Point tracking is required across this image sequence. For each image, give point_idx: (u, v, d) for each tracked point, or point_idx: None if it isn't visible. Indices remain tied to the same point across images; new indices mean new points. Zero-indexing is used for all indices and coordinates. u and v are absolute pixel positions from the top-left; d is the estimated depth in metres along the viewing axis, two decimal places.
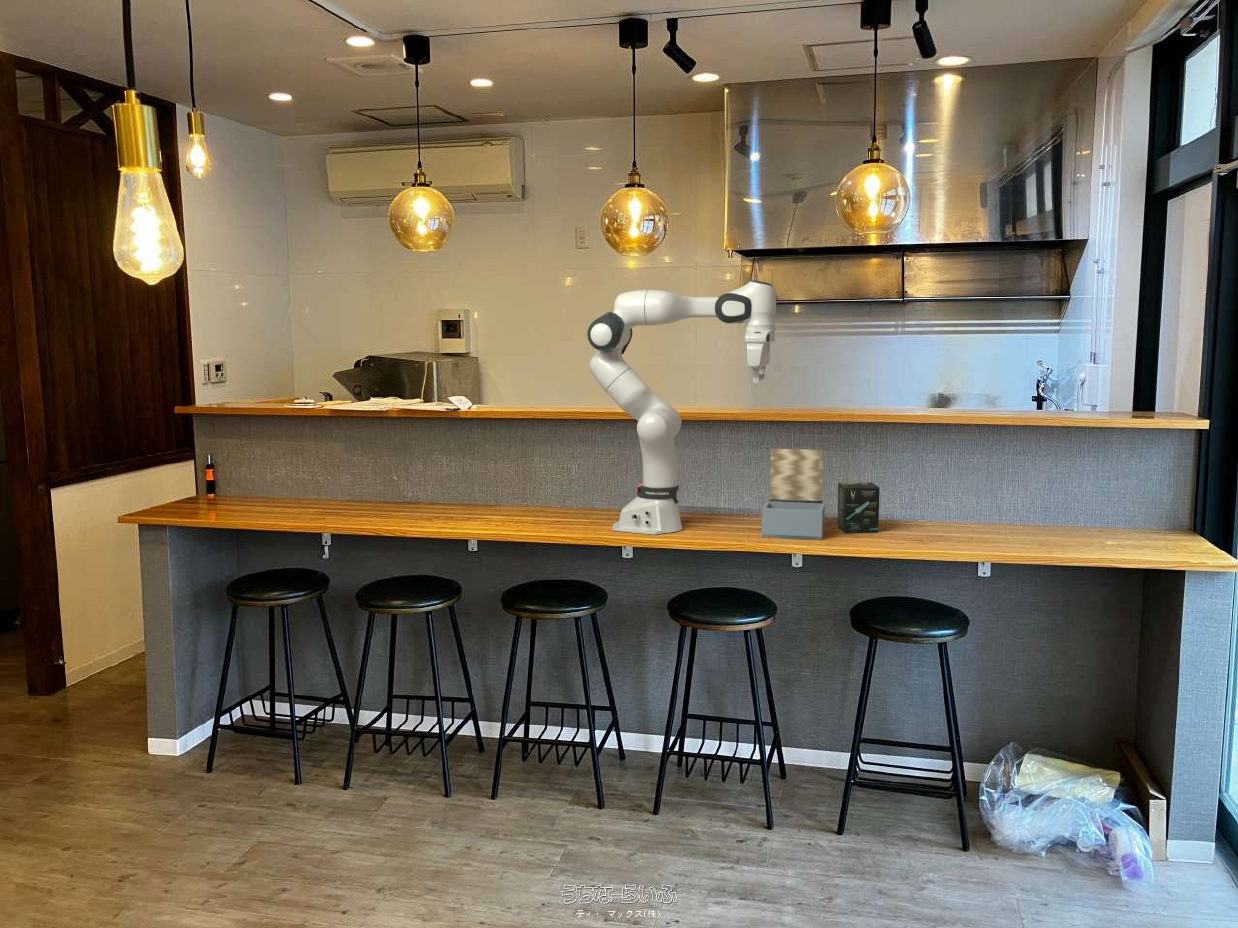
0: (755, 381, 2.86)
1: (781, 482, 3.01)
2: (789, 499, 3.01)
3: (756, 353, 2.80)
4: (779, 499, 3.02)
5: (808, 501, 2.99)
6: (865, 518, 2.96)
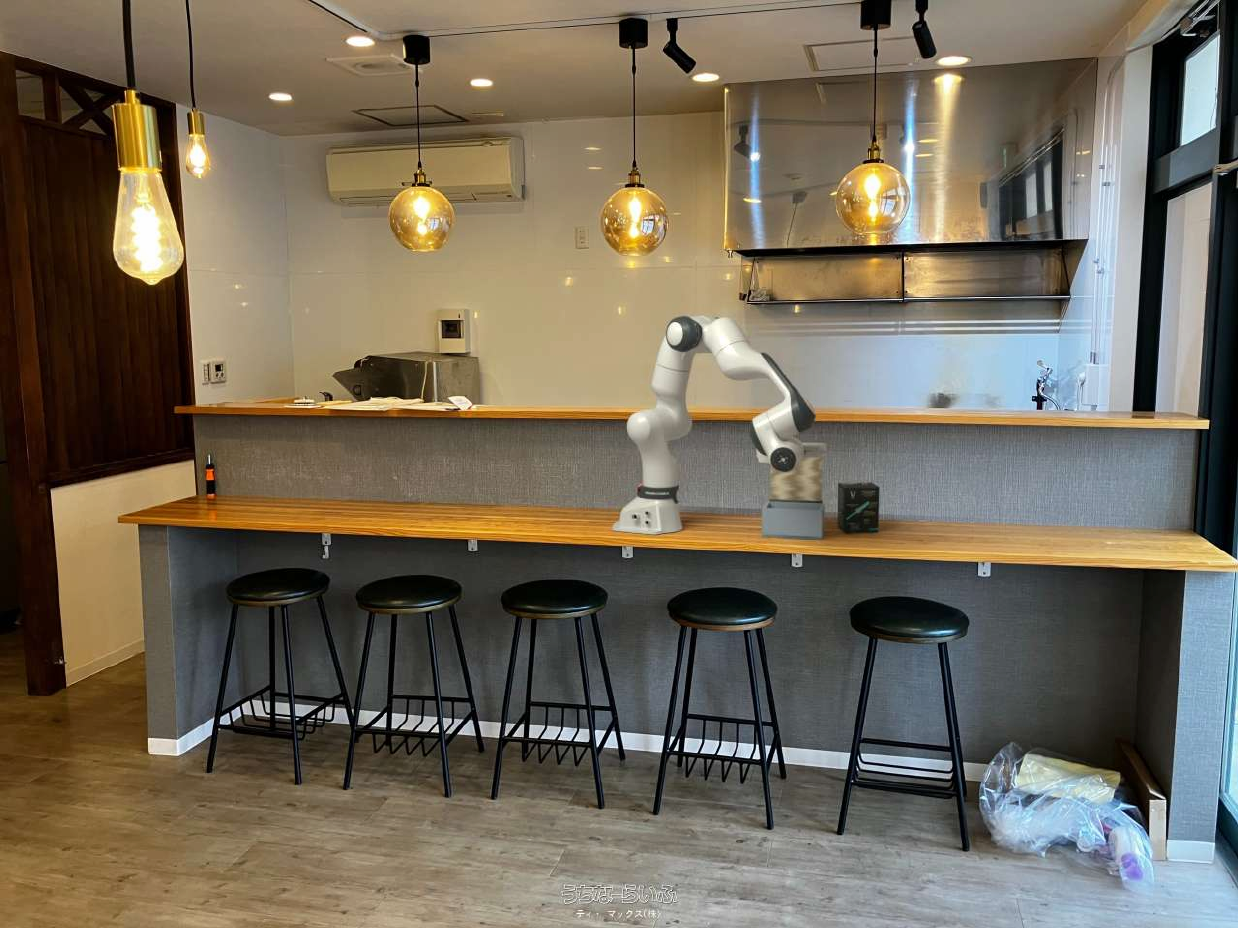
0: None
1: (781, 482, 3.01)
2: (789, 499, 3.01)
3: (756, 452, 2.80)
4: (779, 499, 3.02)
5: (808, 501, 2.99)
6: (865, 518, 2.96)
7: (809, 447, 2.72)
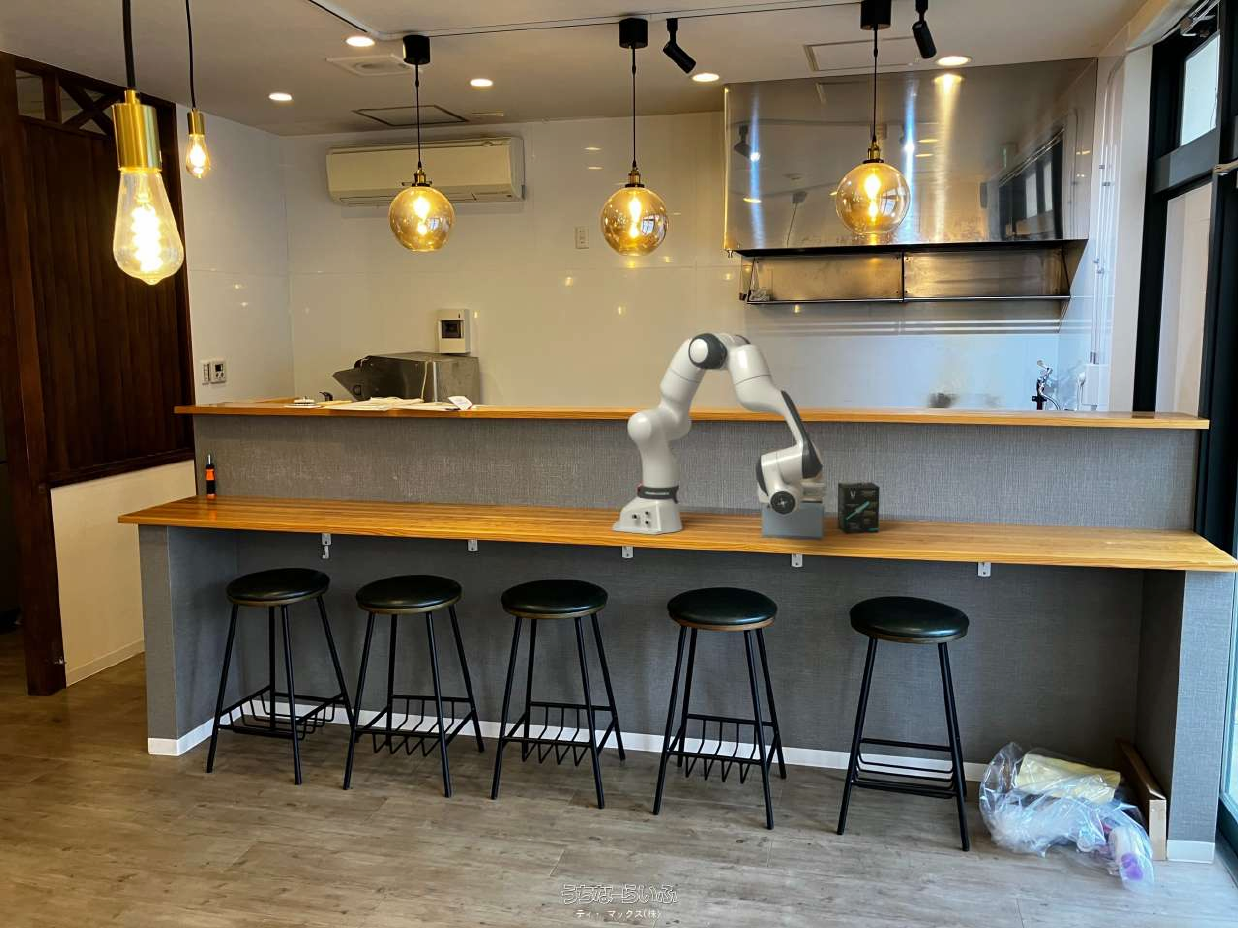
0: None
1: None
2: None
3: (757, 491, 2.86)
4: None
5: (808, 501, 2.99)
6: (865, 518, 2.96)
7: (809, 488, 2.78)
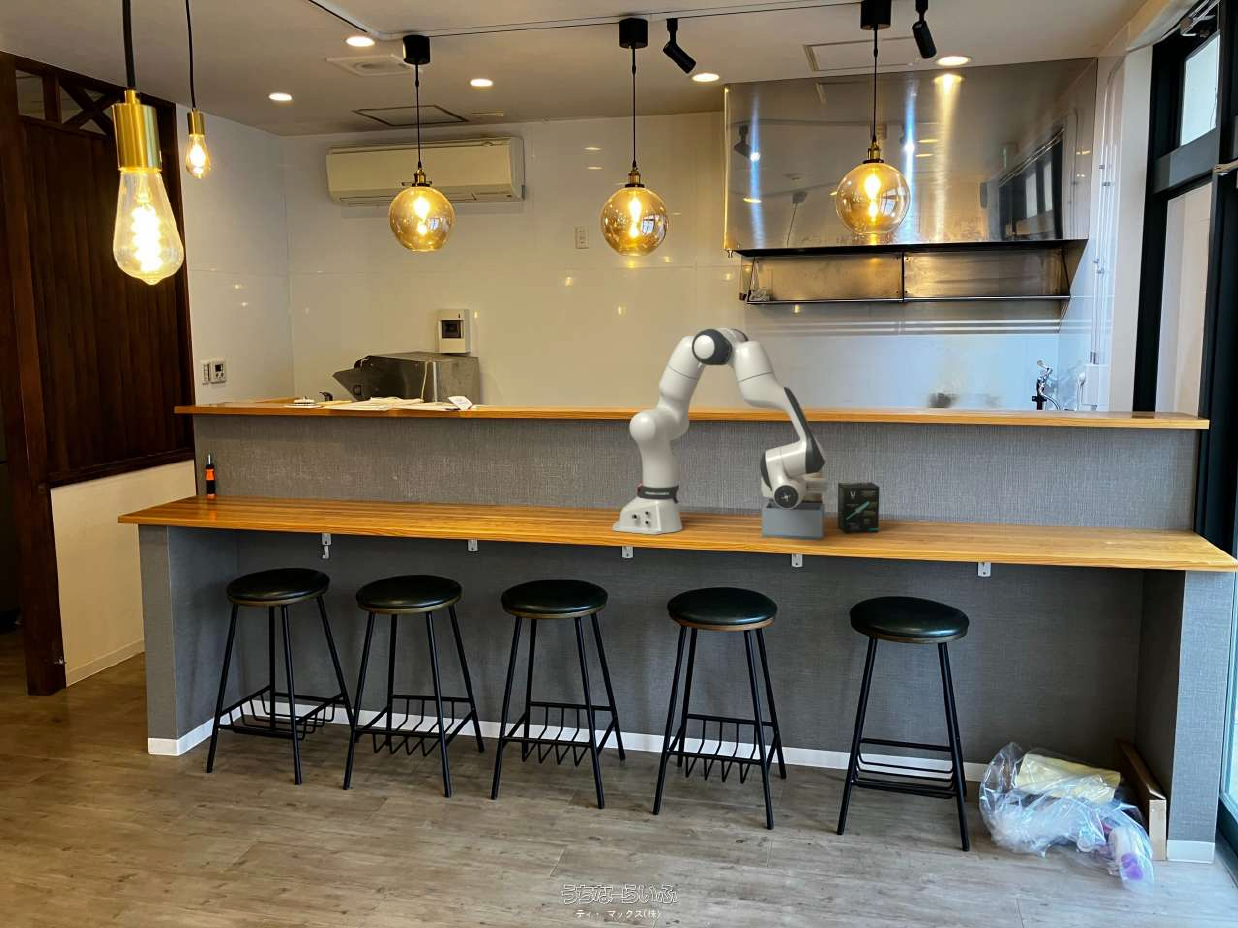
0: None
1: None
2: None
3: None
4: None
5: (808, 501, 2.99)
6: (865, 518, 2.96)
7: (811, 483, 2.86)
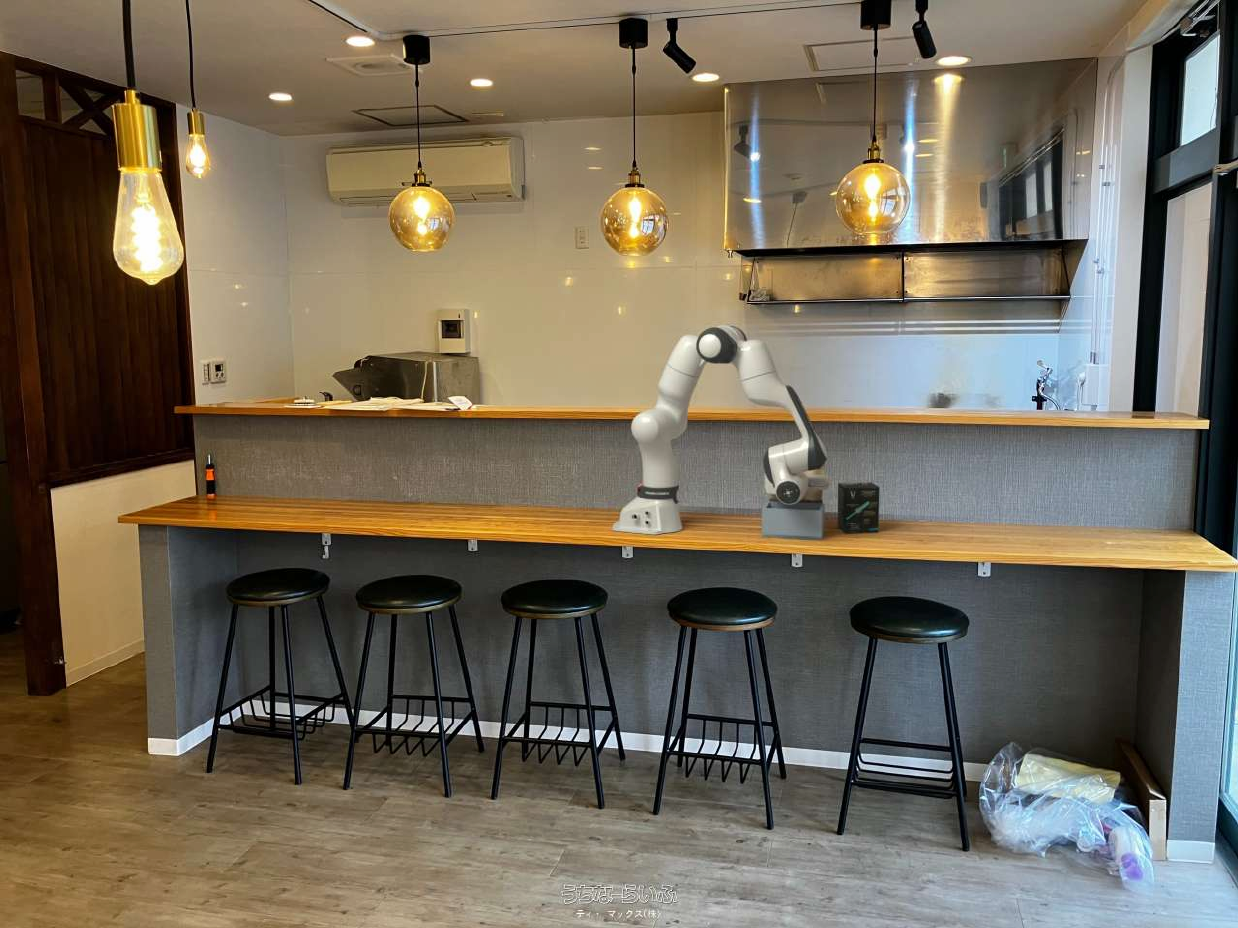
0: None
1: None
2: None
3: (764, 482, 3.00)
4: None
5: (808, 500, 2.99)
6: (865, 518, 2.96)
7: (813, 480, 2.92)
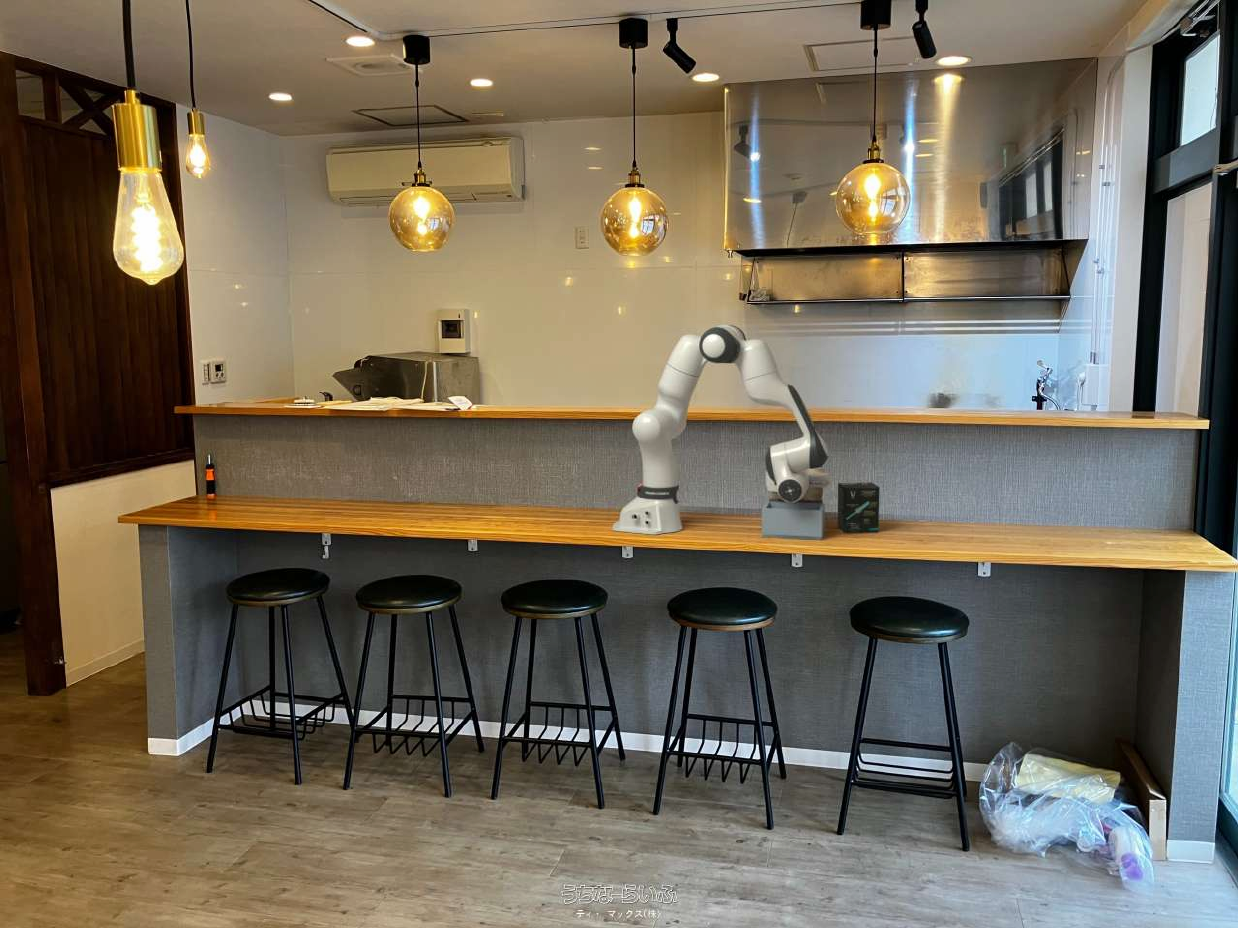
0: None
1: None
2: None
3: None
4: (779, 498, 3.02)
5: (808, 500, 2.99)
6: (865, 518, 2.96)
7: (814, 477, 2.96)
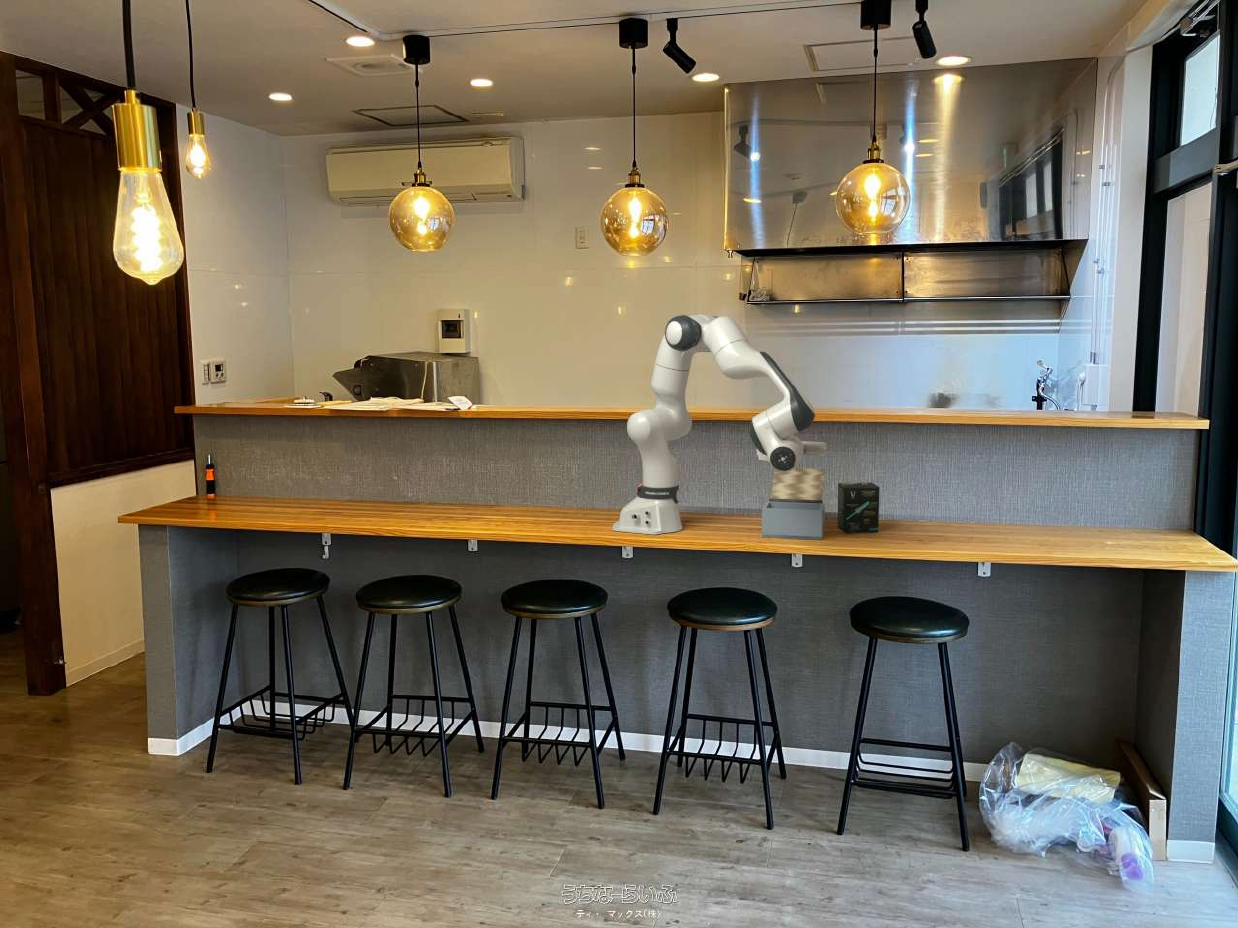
0: None
1: (783, 487, 3.06)
2: (789, 498, 3.01)
3: (756, 449, 2.80)
4: (779, 498, 3.02)
5: (808, 500, 2.99)
6: (865, 518, 2.96)
7: (809, 446, 2.73)
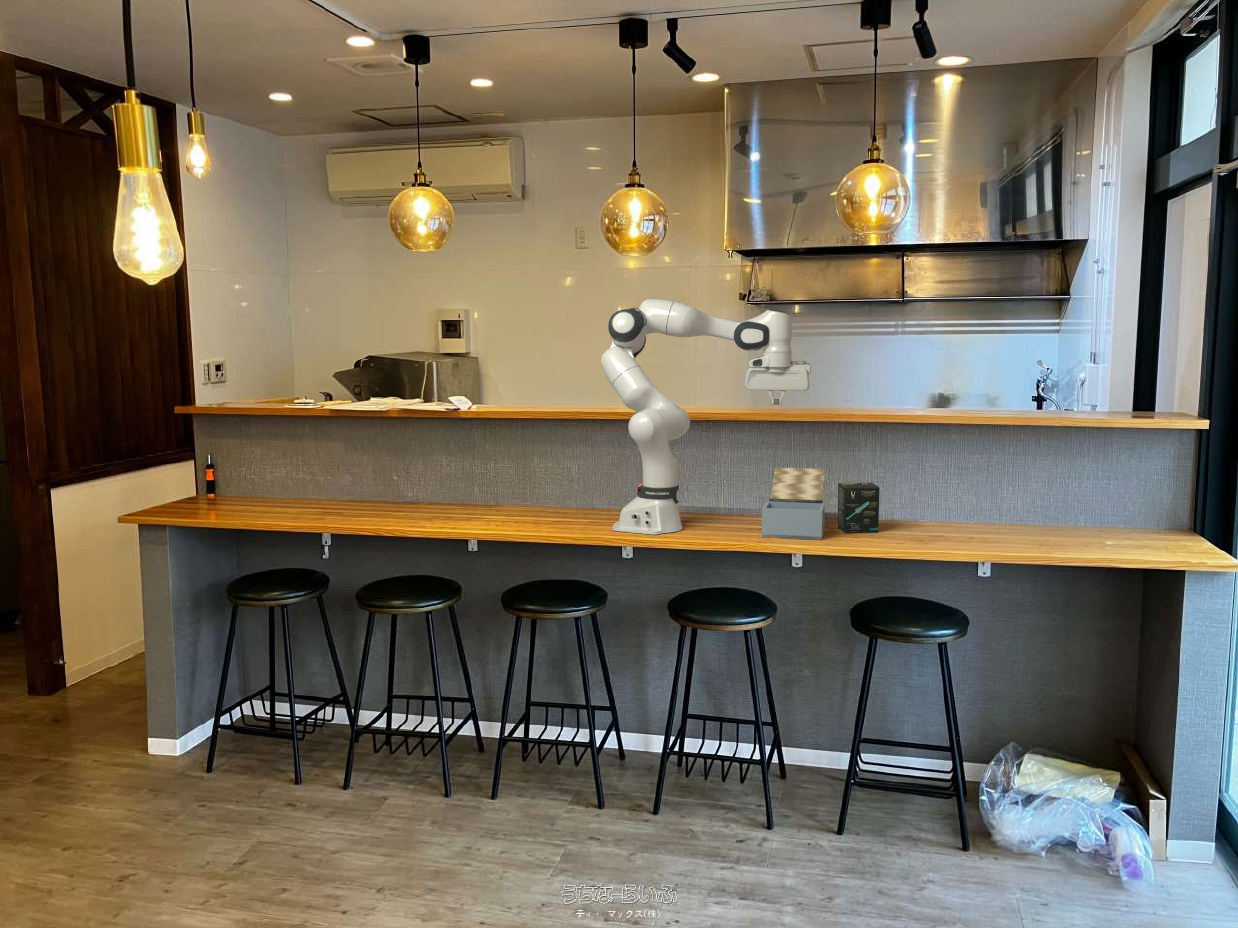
0: (772, 403, 3.04)
1: (783, 487, 3.06)
2: (789, 498, 3.01)
3: None
4: (779, 498, 3.02)
5: (808, 500, 2.99)
6: (865, 518, 2.96)
7: None
